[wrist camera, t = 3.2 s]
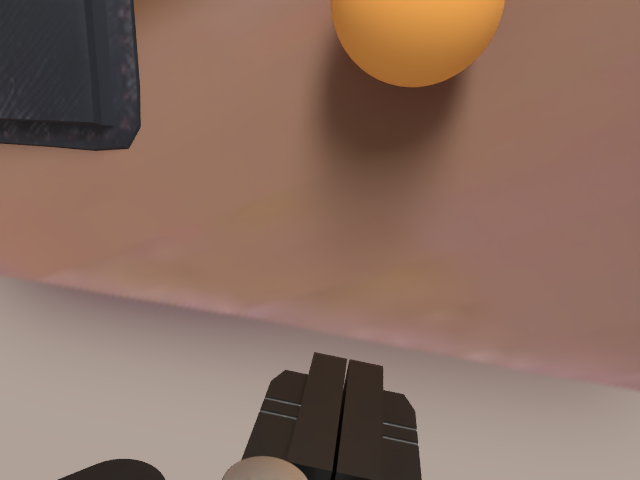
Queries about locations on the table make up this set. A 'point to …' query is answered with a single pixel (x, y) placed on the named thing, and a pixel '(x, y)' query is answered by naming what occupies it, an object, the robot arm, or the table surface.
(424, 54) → the ball
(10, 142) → the wallet
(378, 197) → the table surface
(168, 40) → the table surface
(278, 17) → the table surface
